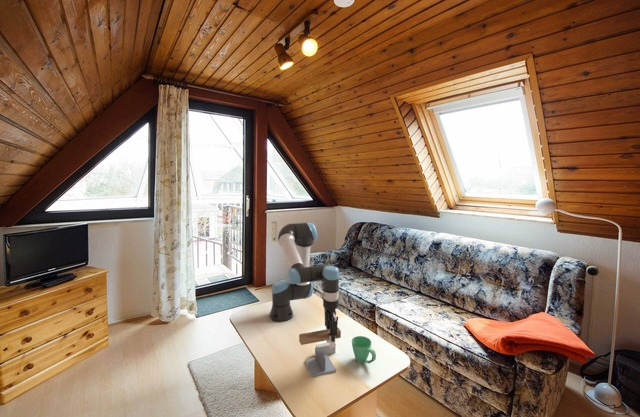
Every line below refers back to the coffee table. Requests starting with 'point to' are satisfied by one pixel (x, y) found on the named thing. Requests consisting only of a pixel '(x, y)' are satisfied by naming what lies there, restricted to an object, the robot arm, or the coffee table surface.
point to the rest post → (326, 348)
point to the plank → (317, 336)
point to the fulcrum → (319, 364)
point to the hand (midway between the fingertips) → (330, 344)
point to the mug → (362, 349)
